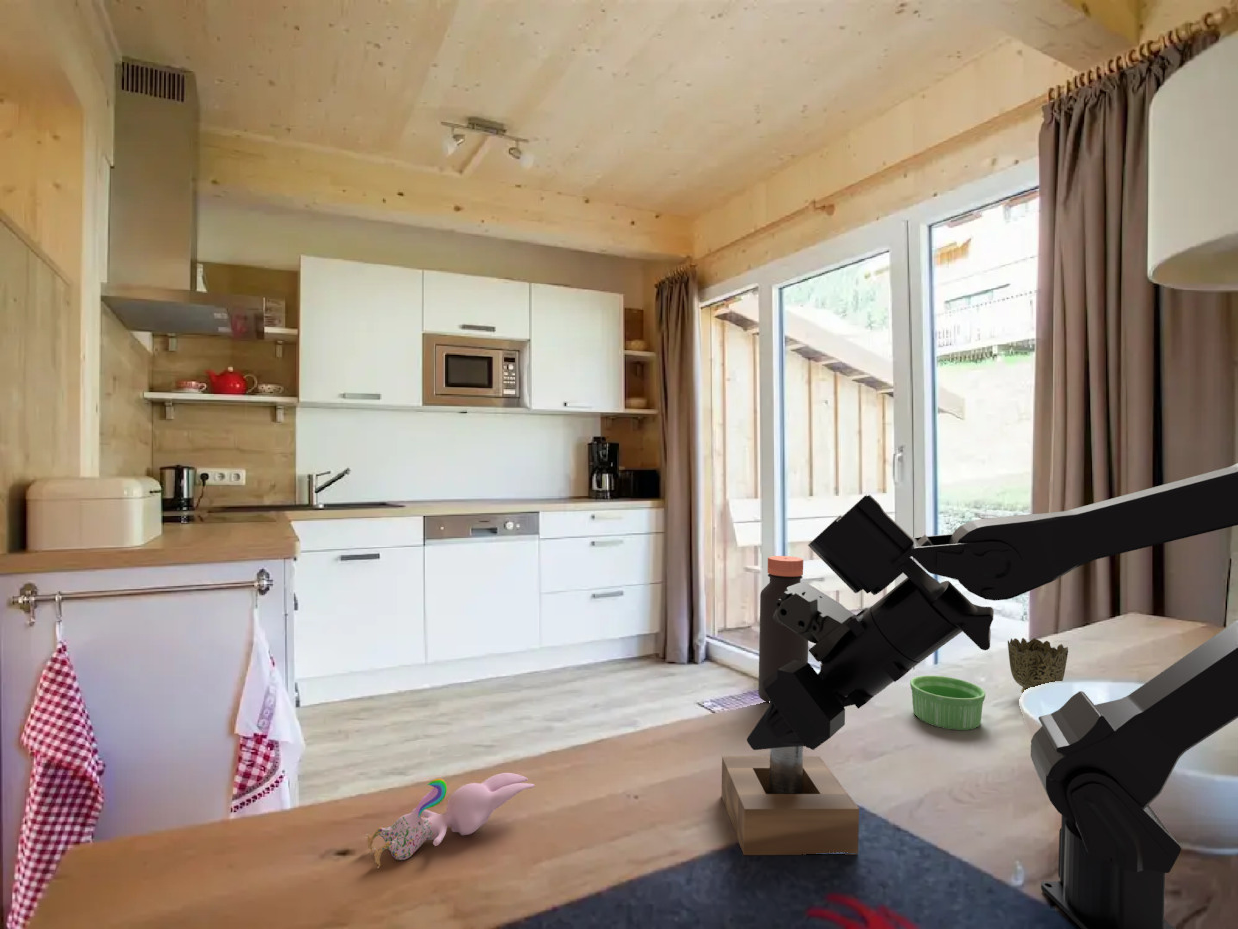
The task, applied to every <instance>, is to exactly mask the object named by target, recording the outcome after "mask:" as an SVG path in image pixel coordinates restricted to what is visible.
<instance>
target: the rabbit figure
mask: <svg viewBox="0 0 1238 929" xmlns="http://www.w3.org/2000/svg"><path fill="white" fill-rule="evenodd" d="M528 780H529V779H528V777H526V776H525V775H524V776H523V775H521V774H518V773H513V772H502V773H498V774H494V775H492V776H489V778H486V779H485V780H484V781H483V782H482V783H480V782H479V783H478V782H471V783H466V784H464V785H462V786H460V787H459V788H457V789H456V790H455V791H454V792H452V794H451V795H450V796H449V798H448V800H447V806H446V811H445V812H444V813H436V812H434V811H431V810H428V809H430V808H433V807H435V806H437V805H439V804H441V803H442V801H443V800H444V799H445V797H446V794H447V791H448V788H447V787H448V786H447V783H446V780H444V779H442V778H436V779H432V780H430V782H428V783H427V786H431V787H433V788H432V789H431V791H429V792H428V793H427V794H425V795H424V796H423V797H422V798H421V800H420V801H419V802H418V804H417V806H416V807H415V808H413V809H412V810H411V812H410V813H407V814H403V815H402V816H400V817H398V818H397V819H396V821H395V822H394V823H393V824H392V825H390V826H387V827H382V826H381V827H378V828H377V829H376V831H374V833H373V834H372V835H371V836H370V835H369V834H368V833H365V835H366V837H367V839H366V843H367V849H369V850H370V851H369V854H371V853H372V852H373V850H374V851H375V852H374V863H376V864H377V865H378V866H376V868H377V869H380V867H381V860H380V859H381V856H382V853H383V852H384V851H385V850H389V851H390V853H391V856H392V857H393V858H394V859H395V860H397V861H405V860H408V859H409V858H411V857H412V855H413V854H415V852H416V851H417V850H419V848H420V847H421V846H422V845H423V844H424V843H425V841H432V840H433V842H432V844H433V845H434V846H435V847H437V846H439V845H440V844H441V842H442V841H443V839H444V838H445V836H446V833H447V830H448V827H450V828H451V832H453V833H459V834H460V836H468V835H472V834H473V833H475V831H477V830H478V829H479V828H480V827H482V826H483V825H485V824H486V823H487V822H488V820H489V818H490V817H491V814H492V813H493V812H494V811H495V810H497V809H498V808H500V807H501V806H503V805H504V804H505V803H506V802H509V800H511V799H512V798H513V797H515V796H516V795H517V794H519V793H520V792H522V791H524V790H528V789H532V788H534V787H535V784H534V783H530V782H529V783H528V782H527V781H528ZM526 782H527V783H526ZM378 836H379V837H381V838H382V839H383V841H384V845H383V846H382V847H381V848H380V849H379V850H378V849H377V848H376V847H374V848H373V846H372V845H373V843H374V840H375V839H376V838H377V837H378Z"/></svg>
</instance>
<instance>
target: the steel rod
mask: <svg viewBox="0 0 1238 929" xmlns="http://www.w3.org/2000/svg"><path fill="white" fill-rule="evenodd" d="M769 756H770V773H769V794H802V775H803V756H804V746H797V747H781V748H771V749H769Z"/></svg>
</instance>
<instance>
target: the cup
mask: <svg viewBox="0 0 1238 929" xmlns="http://www.w3.org/2000/svg"><path fill="white" fill-rule="evenodd" d="M1007 648H1008V650H1007V651H1008V659H1009V668H1010V673H1011V675H1012V678H1013V680H1014V681H1015V682H1016V684H1018V685H1019V686H1020V687H1021V690H1020V693H1021V694H1022V693H1023V692H1024V690H1026V689H1028V688H1030V687H1035V686H1038V685H1041V684H1045V683H1049V682H1055V681H1062V682H1063V681H1064V677H1065V672H1066V668H1067V667H1066V666H1067V662H1068V661H1067V660H1068V655H1069V647H1067V646H1066V647H1064V645H1063V644H1059V645H1058V646H1056V647H1055V646H1053V647H1052V646H1051V642H1050V641H1049V640H1044V642H1042V641H1041V640H1039V639H1037V638H1035V637H1034V638H1032V639H1030V640H1029V641H1028V640H1027V639H1025V638H1024V637H1022V638H1021V640H1019V639H1018V638H1014V639H1013V638H1010V641H1009V640H1007Z"/></svg>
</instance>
